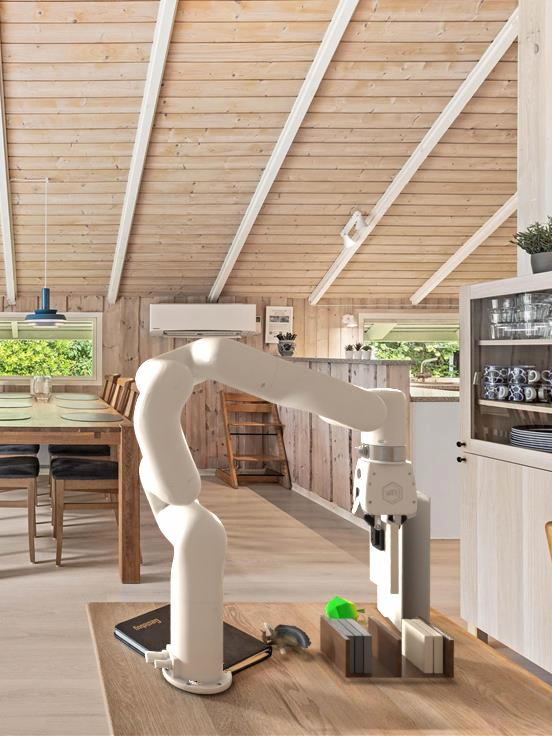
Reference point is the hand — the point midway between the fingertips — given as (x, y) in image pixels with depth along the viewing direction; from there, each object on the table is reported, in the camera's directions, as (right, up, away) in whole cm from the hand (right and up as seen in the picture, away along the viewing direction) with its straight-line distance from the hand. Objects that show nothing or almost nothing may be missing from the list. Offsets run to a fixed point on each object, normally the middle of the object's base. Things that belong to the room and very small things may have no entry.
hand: (383, 547), depth 120 cm
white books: (+7, -22, 0) cm, 24 cm away
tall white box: (+15, -24, +19) cm, 34 cm away
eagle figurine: (-17, -23, +5) cm, 29 cm away
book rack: (0, -23, 0) cm, 23 cm away
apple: (+2, -24, +18) cm, 30 cm away
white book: (0, -8, 0) cm, 8 cm away
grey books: (-7, -22, 0) cm, 23 cm away
